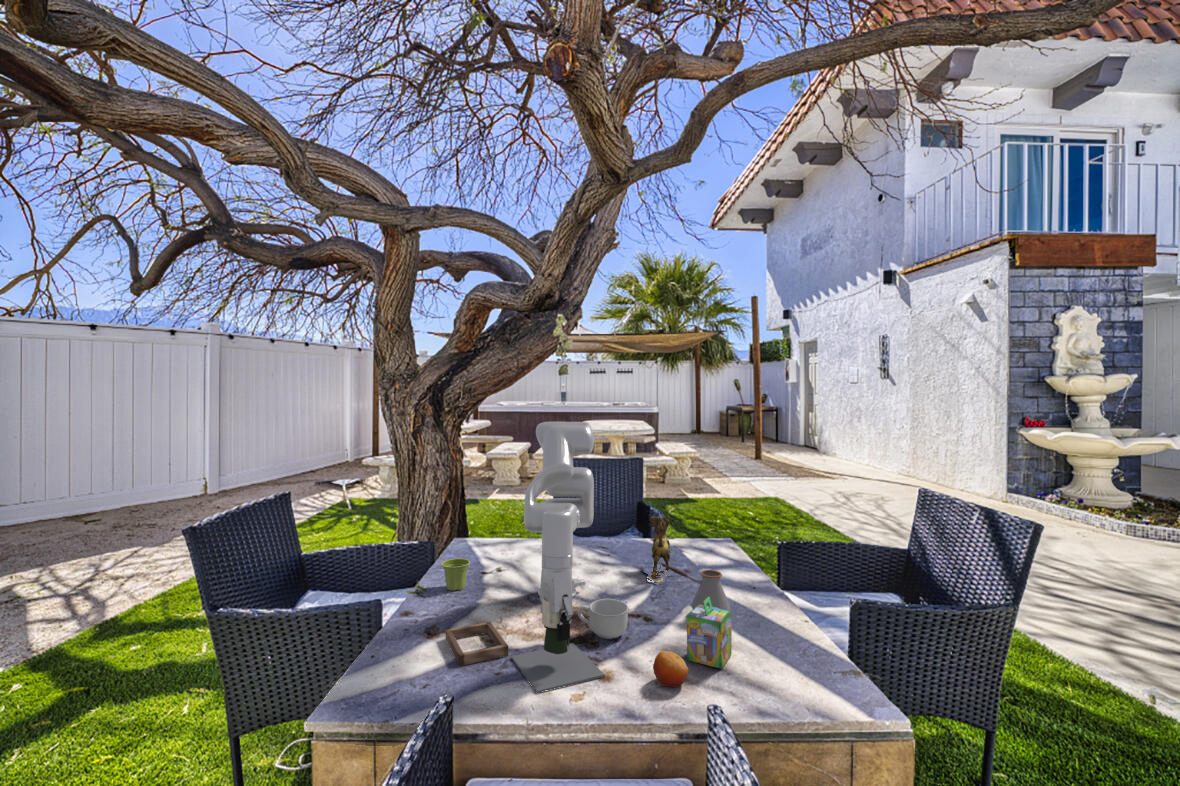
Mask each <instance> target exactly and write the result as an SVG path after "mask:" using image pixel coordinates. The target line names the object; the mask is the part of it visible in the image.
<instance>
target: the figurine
mask: <svg viewBox="0 0 1180 786" xmlns="http://www.w3.org/2000/svg"><path fill="white" fill-rule="evenodd" d="M649 522H651V527H652V528H654V529H655V531H656V532H655V535H654V537H653V538H654V539H652V542H653V543H652V546H651V553H652V554H651V557H652V560H653V561H651V563H653V562H654V567H653V572H651V573H652V575H651V577H652V579H658V578H661V579H660V580H658V581H655V582H654V583H659V582H660V581H663V578H662V577H656V576H661V575H658V574H659V573H663V574H664V575H665V576H667V575H666V574H665V572H664V571H660V572H659V571H656V570H657V564H658V562H660V559H663V561H664V564H665V565H669V566H670V563H669V561H670V559H671V550H670V549H671V543H670V540H669V538H668V537H667V530H668V527H669V525H670V520H669V519H668V518H667V517H666V516H664V517H663V516H658V515H657V516H655V517H654V516H650V517H649ZM665 570H667V571H668V570H669V569H667V568H666V569H665ZM657 572H658V573H657ZM656 573H657V575H656ZM647 579H648V580H650V579H649V578H647ZM650 581H652V580H650Z"/></svg>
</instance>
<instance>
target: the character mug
mask: <svg viewBox="0 0 1180 786" xmlns="http://www.w3.org/2000/svg"><path fill="white" fill-rule="evenodd" d="M560 610H565V609H564V606H563V603H562V606H561V608H560ZM541 613H542V614H541V623H542V625H543V627H544V626H546V627H547V628H545V634H544V643H543V649H544V650H545V651H547V652H550V653H554V654H563V653H566V652H567V651H568V649H567V645H568V646H569V644H570V641H569V640H570V639H569V640H564V641H557V624H559V623H558V617H557V612H556V614H554V613H552V612H551V611H550V604H549V602H548V601H546V600H545V599H544V597H543V598H542V603H541ZM564 615H565V613H561V618H562V617H563V616H564ZM571 623H572V622H571ZM571 623H570V625H571Z"/></svg>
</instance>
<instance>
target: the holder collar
mask: <svg viewBox="0 0 1180 786" xmlns="http://www.w3.org/2000/svg"><path fill="white" fill-rule="evenodd" d="M482 633H485V634H487V635H488V634H489V635H488V636H489V638H490V637H491V638H490V639H491V641H492V640H493V641H494V642H493V641H492V642H493V643H495V644H496V645H495V646H491V647H486V648H481V649H476V650H470V651H465V652H464V651H463V650H462V648H461V645H460V644H459V642H458V641H457V639H455V638H459V639H462V638H461V637H464V638H468V637H467V636H469V637H473V636H472V635H474V636H477V635H476V634H480V635H483V634H482ZM446 640H447V641H446ZM445 641H446V643H447V642H448V643H447V644H449V645H448V646H450V647H449V649H450V648H451V649H450V650H452V651H451V653H452V652H453V653H452V654H453V656H454V659H455V660H456V662H457V664H458V666H459V667H461V666H467V665H471V664H474V663H475V662H476V663H481V662H485V660H486V661H490V660H489V659H491V660H495V659H499V658H498V657H500V658H504V657H503V656H505V657H508V656H509V645H508V644H507V642H506V641H505V640H504V638H503V637H502V636H501V634H500V633H499V631H498V630H497V629H496V627H495V626H494V625H493V623H492V622H491V621H487V622H480V623H476V624H469V625H464V626H460V627H453V628H449V629H445ZM494 658H495V659H494ZM476 663H475V664H476Z"/></svg>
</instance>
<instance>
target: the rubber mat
mask: <svg viewBox="0 0 1180 786" xmlns="http://www.w3.org/2000/svg"><path fill="white" fill-rule="evenodd" d="M567 649H568V651H567V652H566V653H563V654H554V653H550V652H547V651H545V650H544V648H543V649H539V650H535V651H530V652H525V653H521V654H516V655H511V660H512V661H513V663H514V662H515V663H514V664H515V665H516V667H517V666H518V667H517V668H518V670H519V669H520V670H521V671H520V670H519V671H520V672H521V674H522V673H523V674H522V676H523V677H524V676H525V677H526V678H525V677H524V678H525V680H526V681H527V680H528V681H529V682H530V683H529V682H528V681H527V682H528V683H529V684H531V685H532V686H531V685H530V686H531V687H533V688H534V689H533V688H532V689H533V690H534V692H535V691H536V692H537V693H538V694H540V693H539V692H542V691H545V690H550V689H554V688H558V687H562V688H564V687H563V686H566V687H569V686H568V685H570V686H573V685H572V684H574V685H577V684H576V683H578V684H581V682H582V683H586V682H590V681H594V680H598V679H601V678H605V673H604V672H603V671H602V670H601V669H600V668H599V667H598V666H596V664H595V663H594V662H592V660H591V659H590V658H589V657H588V656H587V655H585V653H584V652H582V650H580V648H579V647H578V646H577V645H575V644H574V642H573V643H569V646H568V645H567ZM597 678H598V679H597ZM589 680H590V681H589ZM585 681H586V682H585ZM558 689H559V688H558ZM554 690H555V689H554ZM550 691H551V690H550ZM536 692H535V693H536ZM537 693H536V694H537ZM542 693H543V692H542Z"/></svg>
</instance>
